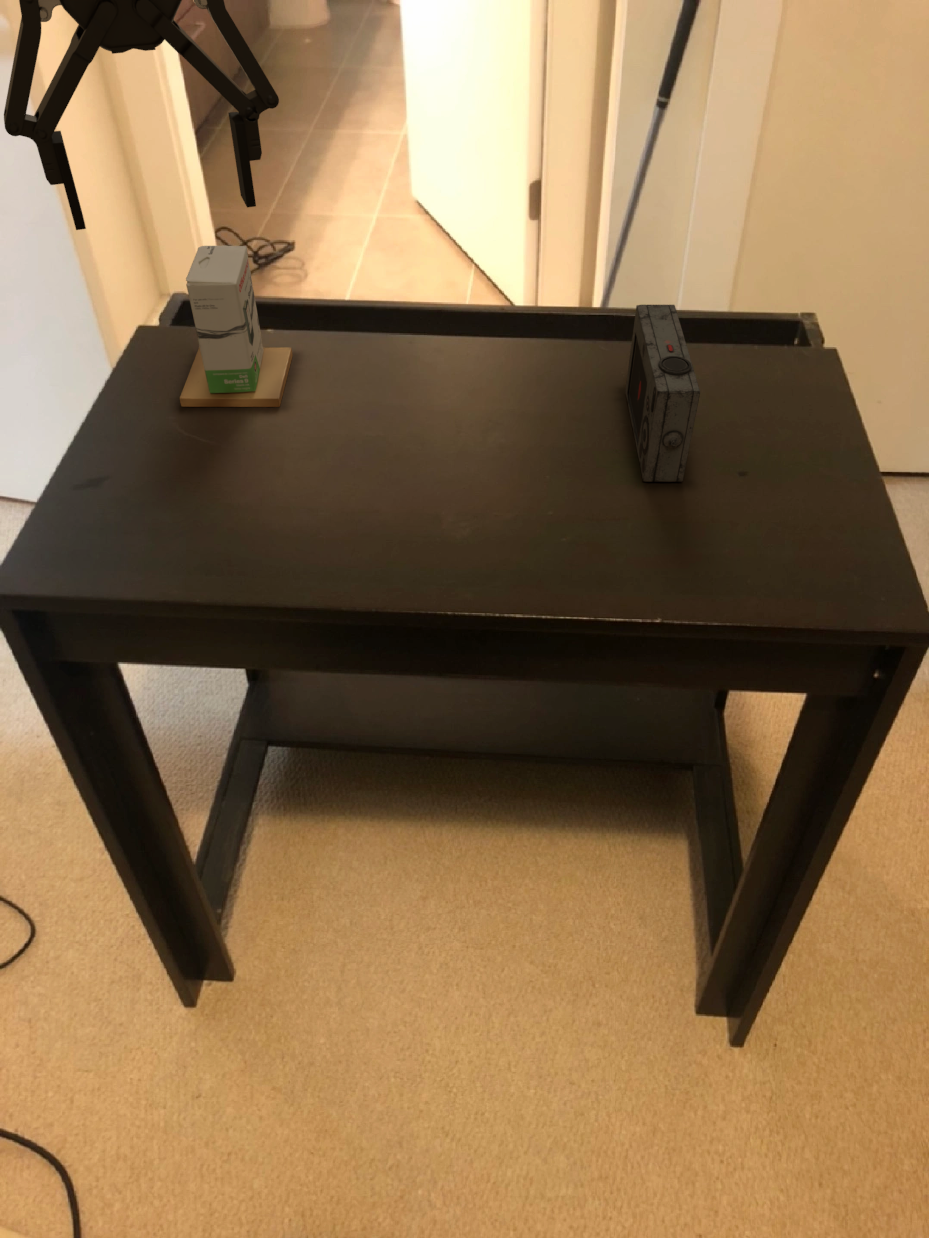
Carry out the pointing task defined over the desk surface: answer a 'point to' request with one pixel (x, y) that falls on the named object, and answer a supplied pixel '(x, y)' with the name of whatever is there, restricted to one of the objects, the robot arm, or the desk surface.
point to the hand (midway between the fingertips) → (165, 212)
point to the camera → (661, 393)
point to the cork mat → (265, 395)
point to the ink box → (226, 318)
